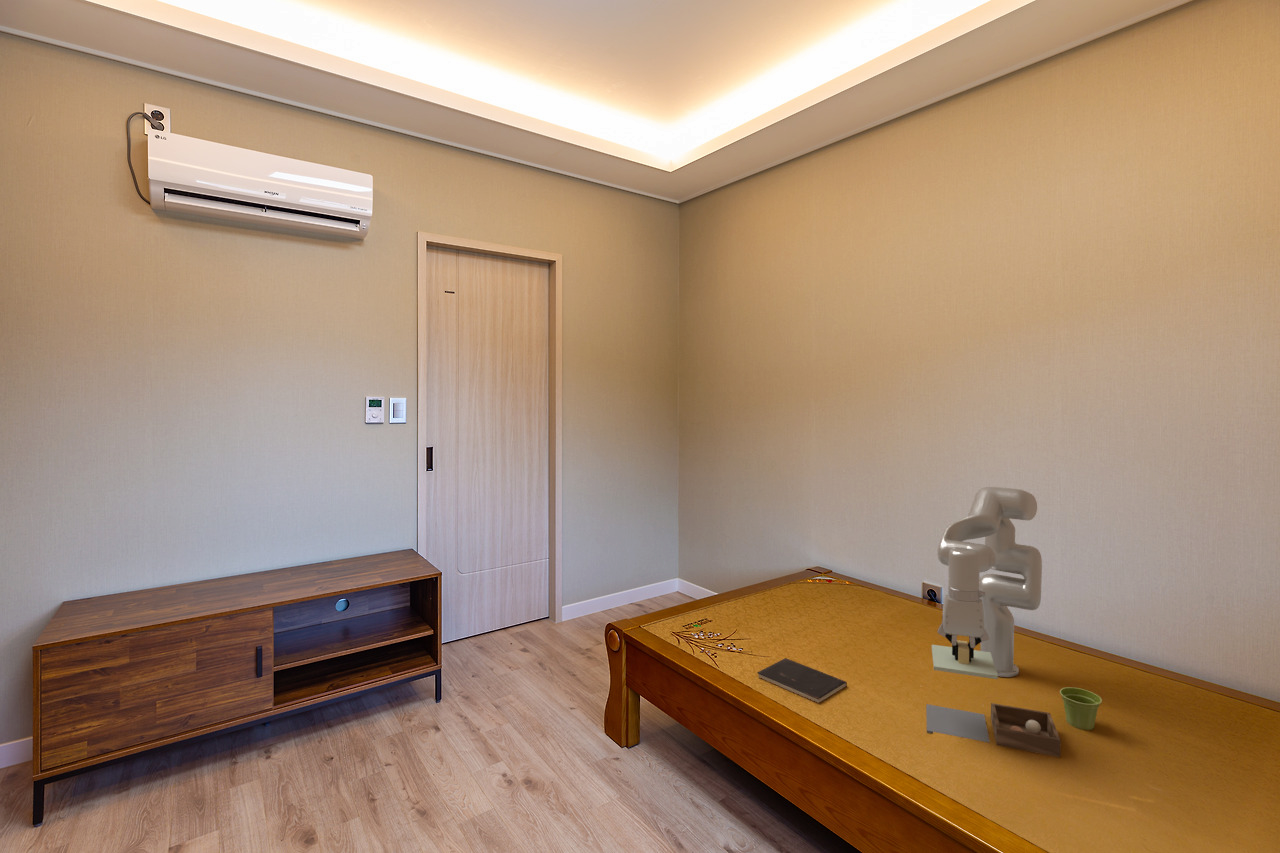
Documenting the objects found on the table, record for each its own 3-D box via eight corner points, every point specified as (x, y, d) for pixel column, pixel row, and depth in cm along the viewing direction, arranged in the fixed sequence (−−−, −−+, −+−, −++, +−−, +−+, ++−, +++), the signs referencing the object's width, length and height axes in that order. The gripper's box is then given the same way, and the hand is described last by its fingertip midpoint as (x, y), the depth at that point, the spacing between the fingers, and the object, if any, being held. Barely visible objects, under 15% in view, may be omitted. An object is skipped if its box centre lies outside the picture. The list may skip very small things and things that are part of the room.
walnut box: (990, 720, 173) (991, 702, 173) (1049, 730, 167) (1050, 712, 167) (996, 746, 160) (996, 728, 160) (1060, 759, 155) (1060, 740, 154)
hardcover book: (818, 705, 184) (818, 698, 184) (757, 679, 201) (757, 672, 201) (846, 687, 194) (846, 680, 194) (786, 663, 212) (786, 657, 211)
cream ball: (1024, 728, 167) (1024, 716, 167) (1039, 731, 166) (1040, 718, 166) (1026, 735, 164) (1026, 722, 164) (1042, 738, 163) (1042, 725, 162)
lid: (931, 647, 179) (931, 631, 179) (990, 655, 173) (990, 638, 173) (933, 669, 166) (934, 651, 165) (997, 679, 160) (998, 660, 159)
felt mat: (926, 706, 181) (926, 704, 181) (984, 716, 175) (984, 714, 175) (926, 732, 168) (926, 730, 168) (989, 744, 161) (989, 742, 161)
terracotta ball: (1007, 734, 165) (1007, 721, 164) (1023, 737, 163) (1023, 724, 163) (1009, 741, 161) (1009, 728, 161) (1025, 745, 160) (1025, 731, 160)
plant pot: (1083, 738, 164) (1084, 706, 163) (1050, 719, 173) (1051, 689, 172) (1109, 732, 166) (1110, 701, 166) (1076, 714, 175) (1077, 684, 175)
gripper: (995, 592, 168) (994, 658, 170) (930, 586, 175) (929, 649, 176) (999, 601, 162) (998, 669, 163) (931, 594, 168) (930, 660, 169)
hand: (962, 658), depth 169 cm, fingers closed on lid, 2 cm apart
